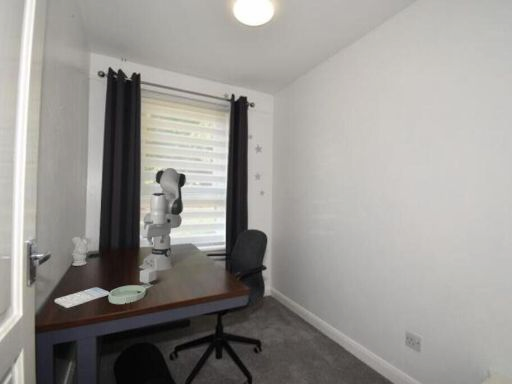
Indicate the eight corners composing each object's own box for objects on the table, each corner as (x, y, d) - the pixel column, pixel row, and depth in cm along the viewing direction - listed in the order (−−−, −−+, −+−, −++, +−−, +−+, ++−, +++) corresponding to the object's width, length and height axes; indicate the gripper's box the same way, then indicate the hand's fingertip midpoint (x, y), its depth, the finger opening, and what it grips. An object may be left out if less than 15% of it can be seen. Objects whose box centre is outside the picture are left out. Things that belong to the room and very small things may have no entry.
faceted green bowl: (100, 300, 125) (101, 294, 125) (128, 289, 140) (128, 283, 140) (126, 306, 119) (126, 300, 119) (151, 294, 135) (152, 288, 135)
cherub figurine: (68, 264, 183) (69, 234, 184) (85, 260, 195) (86, 232, 195) (79, 267, 179) (80, 236, 179) (96, 262, 190) (97, 233, 190)
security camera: (156, 286, 146) (156, 269, 146) (147, 290, 140) (147, 272, 140) (147, 284, 148) (147, 267, 148) (138, 288, 142) (138, 271, 142)
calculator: (53, 302, 123) (53, 298, 123) (96, 289, 140) (96, 286, 140) (66, 309, 116) (67, 305, 116) (110, 295, 134) (110, 291, 134)
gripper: (149, 221, 136) (148, 247, 136) (173, 219, 156) (172, 242, 155) (139, 221, 138) (138, 246, 138) (164, 219, 158) (163, 241, 157)
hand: (156, 244), depth 147 cm, fingers open, 8 cm apart
